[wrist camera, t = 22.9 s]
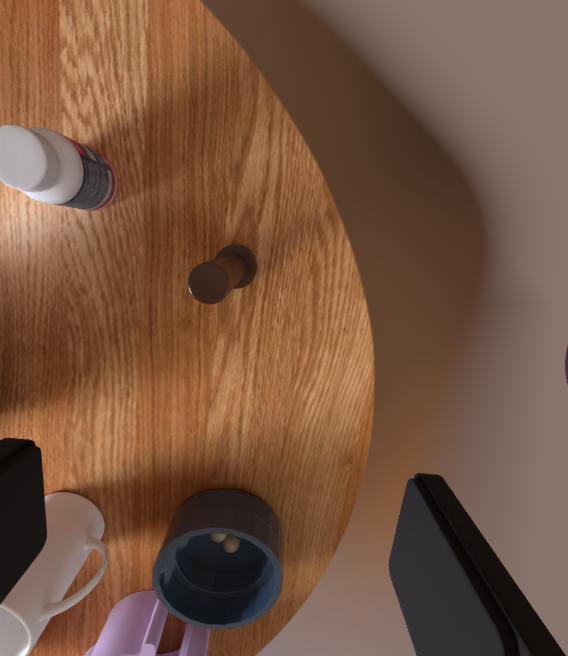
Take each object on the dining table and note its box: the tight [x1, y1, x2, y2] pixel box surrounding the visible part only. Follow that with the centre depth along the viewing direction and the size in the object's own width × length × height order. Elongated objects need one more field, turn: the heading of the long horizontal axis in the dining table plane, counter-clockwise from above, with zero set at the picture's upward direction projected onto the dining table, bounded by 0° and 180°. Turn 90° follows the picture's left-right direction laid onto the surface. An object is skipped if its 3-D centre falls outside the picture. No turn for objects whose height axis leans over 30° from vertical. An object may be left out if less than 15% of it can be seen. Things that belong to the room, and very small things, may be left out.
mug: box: [0, 492, 109, 656], centre depth 34 cm, size 12×9×12 cm
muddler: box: [188, 245, 258, 304], centre depth 26 cm, size 4×4×14 cm
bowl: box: [152, 489, 283, 630], centre depth 38 cm, size 13×13×6 cm
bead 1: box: [210, 533, 227, 542], centre depth 39 cm, size 2×2×2 cm
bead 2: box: [223, 534, 240, 553], centre depth 39 cm, size 2×2×2 cm
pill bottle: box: [0, 125, 117, 211], centre depth 27 cm, size 5×5×9 cm
